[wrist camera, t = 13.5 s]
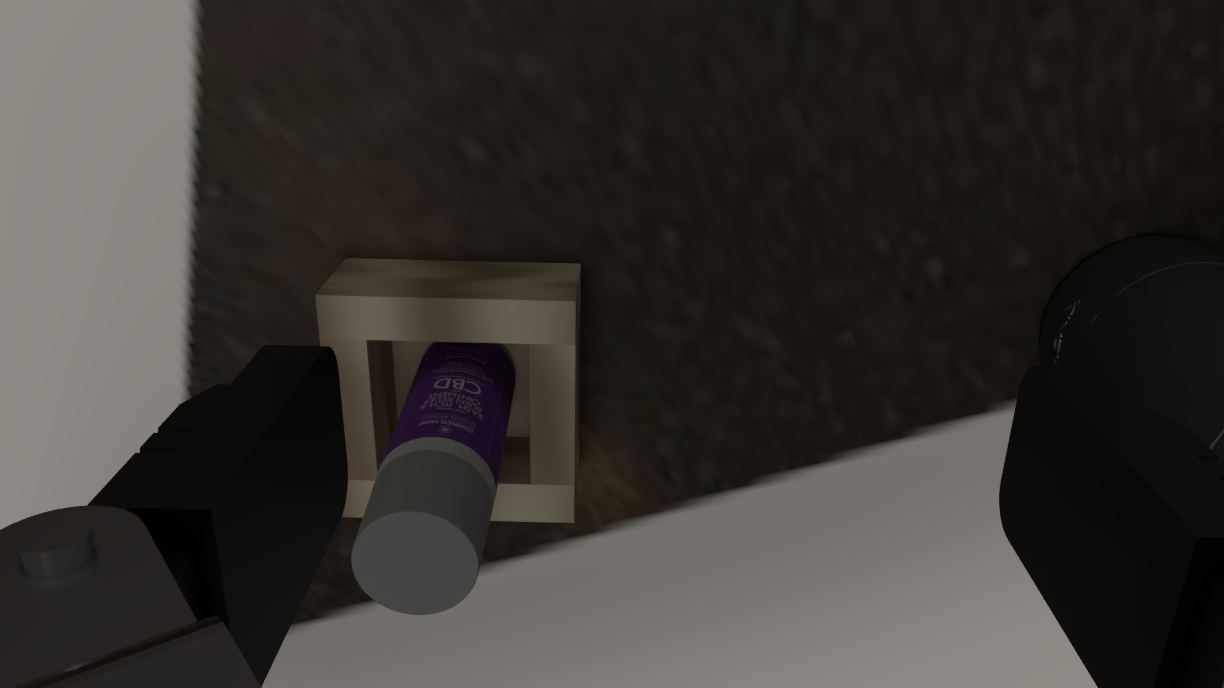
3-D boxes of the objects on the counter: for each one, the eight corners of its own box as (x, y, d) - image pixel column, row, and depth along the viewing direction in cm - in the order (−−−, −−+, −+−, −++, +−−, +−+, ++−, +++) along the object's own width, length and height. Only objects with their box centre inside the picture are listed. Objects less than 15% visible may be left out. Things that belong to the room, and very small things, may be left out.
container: (497, 318, 47) (454, 494, 34) (529, 402, 49) (500, 600, 36) (404, 344, 48) (325, 527, 34) (439, 426, 50) (378, 631, 36)
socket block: (580, 263, 47) (575, 301, 42) (578, 468, 51) (574, 522, 47) (345, 257, 47) (315, 295, 42) (364, 462, 51) (337, 516, 47)
